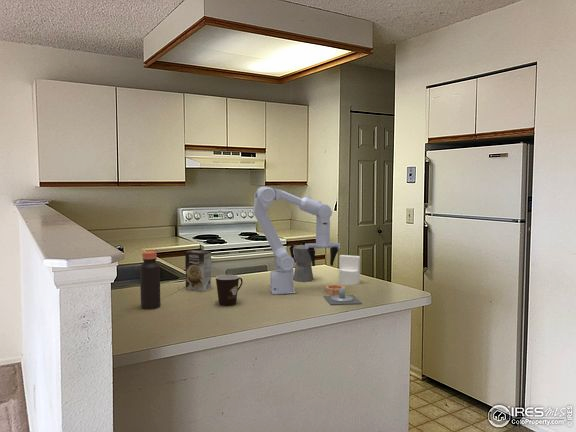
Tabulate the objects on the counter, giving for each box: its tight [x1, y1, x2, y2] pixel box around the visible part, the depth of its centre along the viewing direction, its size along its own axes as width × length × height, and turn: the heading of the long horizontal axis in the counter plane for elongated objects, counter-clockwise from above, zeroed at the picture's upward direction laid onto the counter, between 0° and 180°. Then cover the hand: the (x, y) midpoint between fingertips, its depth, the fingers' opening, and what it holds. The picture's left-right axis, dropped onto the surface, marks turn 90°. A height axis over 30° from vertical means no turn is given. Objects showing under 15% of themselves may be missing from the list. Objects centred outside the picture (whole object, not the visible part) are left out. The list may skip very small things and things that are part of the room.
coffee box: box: [184, 249, 212, 293], centre depth 191 cm, size 9×6×16 cm
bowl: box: [324, 284, 346, 296], centre depth 186 cm, size 8×8×2 cm
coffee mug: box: [215, 274, 243, 307], centre depth 170 cm, size 12×9×10 cm
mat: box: [323, 294, 363, 306], centre depth 175 cm, size 12×12×1 cm
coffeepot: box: [289, 240, 316, 283], centre depth 210 cm, size 15×9×18 cm, turn 44°
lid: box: [331, 287, 353, 302], centre depth 175 cm, size 8×8×4 cm
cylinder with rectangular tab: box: [338, 254, 361, 286], centre depth 204 cm, size 9×9×12 cm
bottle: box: [139, 250, 162, 310], centre depth 165 cm, size 7×7×20 cm
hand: (322, 265), depth 191 cm, fingers open, 7 cm apart
